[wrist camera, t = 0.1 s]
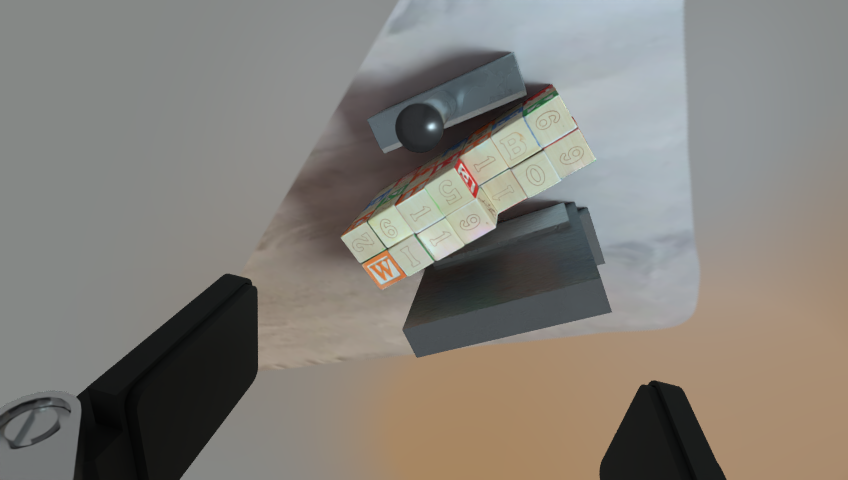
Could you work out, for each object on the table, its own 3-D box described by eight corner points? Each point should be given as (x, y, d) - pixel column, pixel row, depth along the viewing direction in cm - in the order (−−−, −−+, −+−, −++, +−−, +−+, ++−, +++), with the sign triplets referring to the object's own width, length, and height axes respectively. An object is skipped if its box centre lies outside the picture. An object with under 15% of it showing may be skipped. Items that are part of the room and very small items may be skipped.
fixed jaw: (424, 245, 51) (389, 327, 37) (582, 194, 45) (613, 268, 31) (449, 298, 54) (425, 395, 39) (602, 256, 48) (639, 351, 34)
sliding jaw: (381, 110, 45) (320, 144, 31) (513, 50, 41) (511, 60, 27) (395, 142, 47) (343, 190, 32) (525, 88, 42) (530, 116, 28)
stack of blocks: (552, 80, 42) (564, 98, 31) (583, 137, 43) (606, 173, 32) (377, 192, 50) (337, 238, 39) (408, 237, 51) (379, 292, 40)
